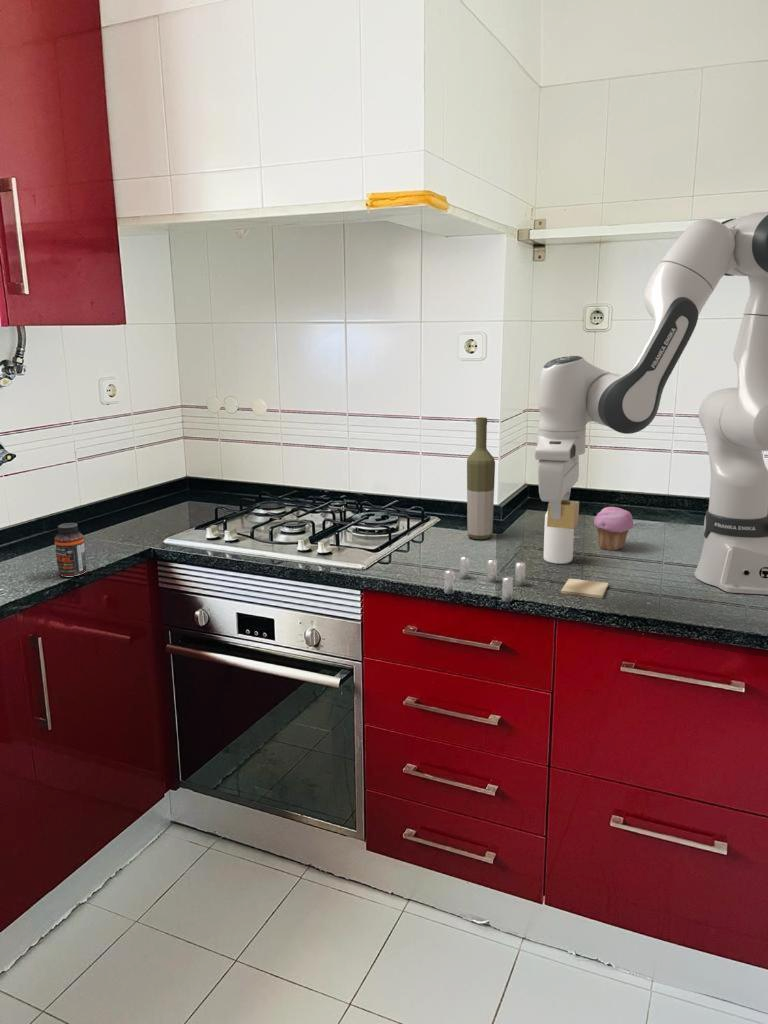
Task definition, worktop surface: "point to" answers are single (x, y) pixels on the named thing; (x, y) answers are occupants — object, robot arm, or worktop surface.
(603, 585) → the coaster
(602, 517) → the cupcake
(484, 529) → the bottle
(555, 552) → the can
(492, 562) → the spacer posts
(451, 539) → the worktop surface
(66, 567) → the supplement bottle
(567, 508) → the cube with brass knob
